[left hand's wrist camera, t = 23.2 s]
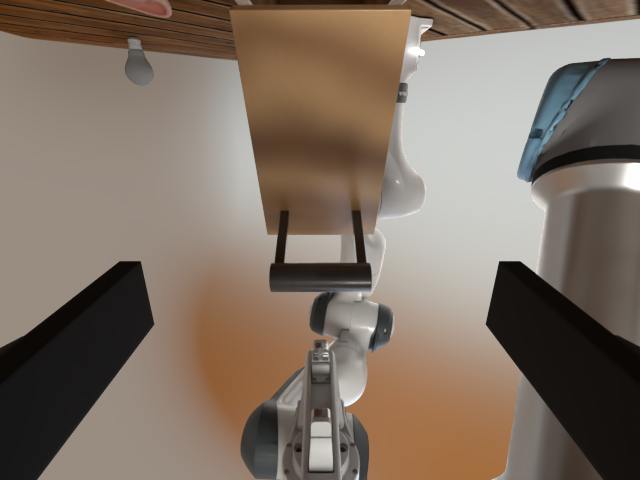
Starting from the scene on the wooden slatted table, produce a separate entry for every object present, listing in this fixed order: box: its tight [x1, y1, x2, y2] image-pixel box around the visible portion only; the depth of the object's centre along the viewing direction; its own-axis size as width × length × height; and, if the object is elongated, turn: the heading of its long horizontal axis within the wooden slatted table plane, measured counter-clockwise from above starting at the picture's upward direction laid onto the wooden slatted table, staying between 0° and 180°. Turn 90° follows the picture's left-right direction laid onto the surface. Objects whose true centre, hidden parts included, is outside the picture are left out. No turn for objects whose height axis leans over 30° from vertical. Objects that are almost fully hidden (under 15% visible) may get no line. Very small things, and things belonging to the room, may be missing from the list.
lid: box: [229, 5, 412, 292], centre depth 21 cm, size 17×9×8 cm
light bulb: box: [125, 37, 154, 86], centre depth 80 cm, size 6×6×10 cm
